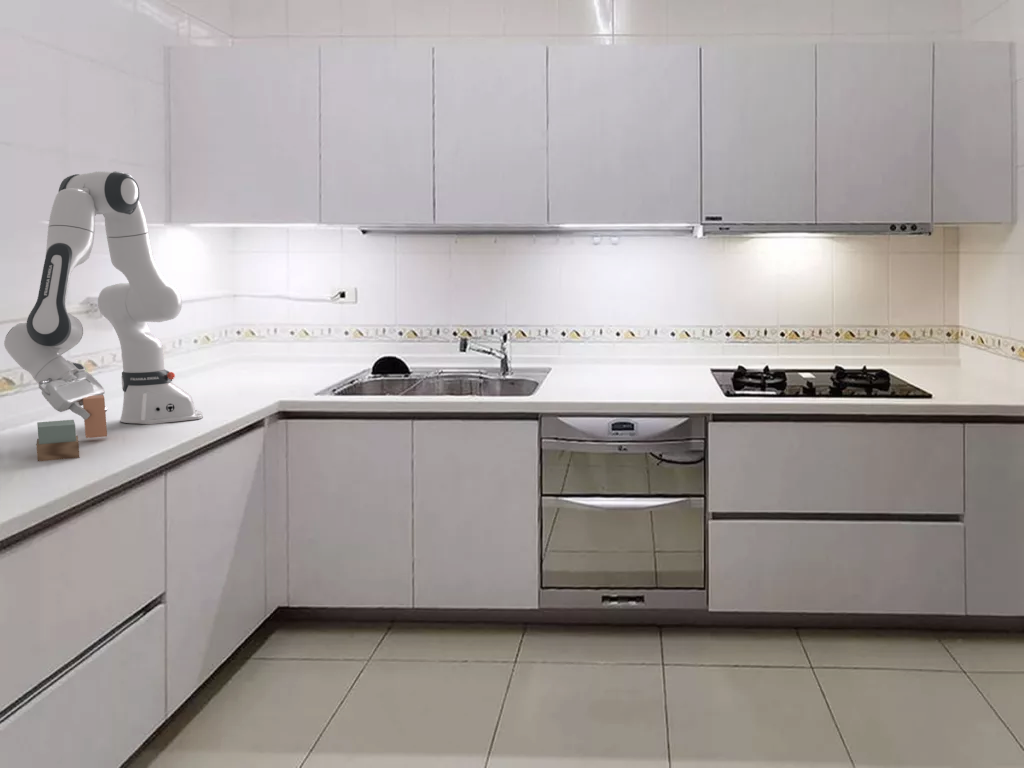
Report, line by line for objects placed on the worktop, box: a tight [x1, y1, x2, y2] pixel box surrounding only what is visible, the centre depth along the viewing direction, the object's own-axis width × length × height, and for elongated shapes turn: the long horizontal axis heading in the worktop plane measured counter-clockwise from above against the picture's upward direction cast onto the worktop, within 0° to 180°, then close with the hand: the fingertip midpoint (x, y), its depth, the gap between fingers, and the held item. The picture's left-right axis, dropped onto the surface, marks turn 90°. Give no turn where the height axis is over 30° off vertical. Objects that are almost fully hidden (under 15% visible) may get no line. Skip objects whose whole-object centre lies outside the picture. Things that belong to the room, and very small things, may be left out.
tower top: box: [36, 419, 77, 444], centre depth 248 cm, size 8×8×4 cm
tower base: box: [35, 434, 80, 462], centre depth 249 cm, size 9×9×4 cm
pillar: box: [82, 394, 108, 439], centre depth 268 cm, size 5×5×10 cm
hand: (97, 414), depth 268 cm, fingers closed on pillar, 7 cm apart
